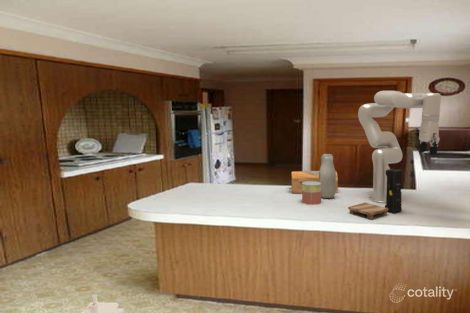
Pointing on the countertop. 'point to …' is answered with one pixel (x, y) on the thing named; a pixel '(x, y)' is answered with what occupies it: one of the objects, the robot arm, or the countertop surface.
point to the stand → (368, 209)
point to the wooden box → (305, 179)
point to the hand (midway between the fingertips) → (427, 153)
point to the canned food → (311, 192)
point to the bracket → (102, 307)
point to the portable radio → (393, 190)
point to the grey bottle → (327, 176)
